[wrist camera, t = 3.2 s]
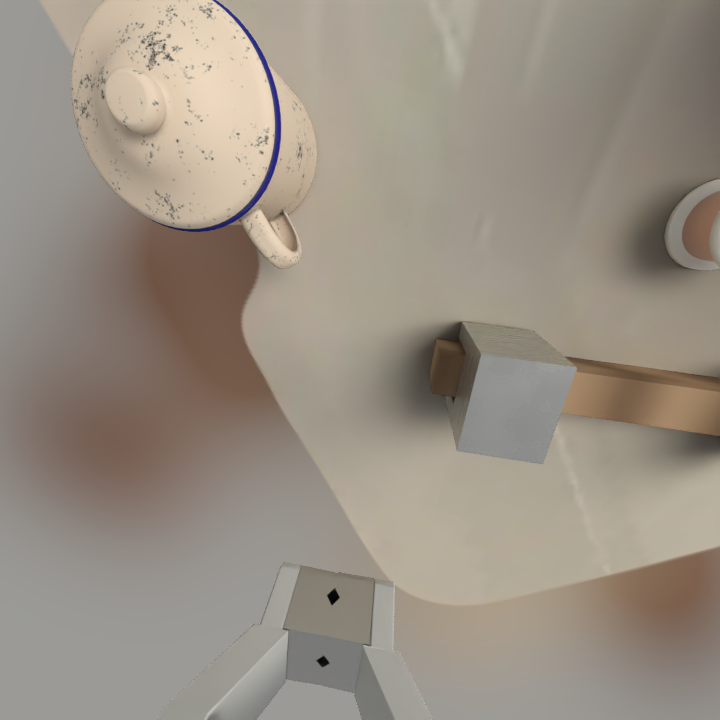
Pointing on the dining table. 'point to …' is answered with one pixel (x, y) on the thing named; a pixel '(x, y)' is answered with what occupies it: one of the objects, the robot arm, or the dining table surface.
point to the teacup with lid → (192, 121)
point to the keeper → (508, 393)
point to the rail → (613, 392)
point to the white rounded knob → (696, 228)
